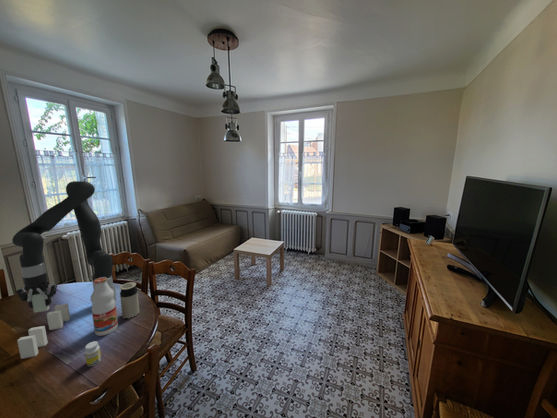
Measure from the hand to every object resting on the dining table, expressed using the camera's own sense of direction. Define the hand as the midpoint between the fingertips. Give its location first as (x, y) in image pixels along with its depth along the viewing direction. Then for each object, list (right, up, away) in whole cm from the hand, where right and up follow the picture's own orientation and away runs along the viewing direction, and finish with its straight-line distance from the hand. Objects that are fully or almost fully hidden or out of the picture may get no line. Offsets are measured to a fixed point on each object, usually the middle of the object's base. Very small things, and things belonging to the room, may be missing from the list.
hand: (41, 306), depth 103 cm
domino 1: (+5, -18, -9) cm, 21 cm away
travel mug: (+30, -14, +19) cm, 38 cm away
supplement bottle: (+35, -19, -11) cm, 42 cm away
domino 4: (-1, -15, +8) cm, 17 cm away
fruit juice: (+26, -16, +7) cm, 31 cm away
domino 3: (+3, -17, -3) cm, 18 cm away
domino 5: (-3, -14, +14) cm, 20 cm away
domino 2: (0, -2, 0) cm, 2 cm away
